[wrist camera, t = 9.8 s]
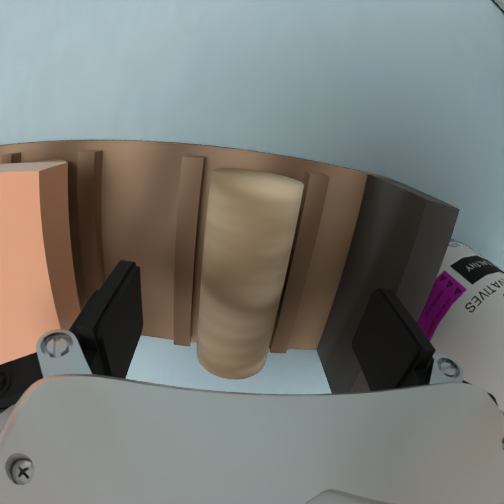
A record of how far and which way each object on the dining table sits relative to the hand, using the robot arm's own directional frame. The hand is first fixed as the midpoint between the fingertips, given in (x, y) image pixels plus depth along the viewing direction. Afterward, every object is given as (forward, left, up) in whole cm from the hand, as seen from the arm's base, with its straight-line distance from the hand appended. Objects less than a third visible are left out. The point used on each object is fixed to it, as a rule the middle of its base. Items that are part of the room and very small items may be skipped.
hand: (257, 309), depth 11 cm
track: (+5, +1, -6) cm, 8 cm away
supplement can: (-15, +2, -6) cm, 16 cm away
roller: (0, +1, -5) cm, 5 cm away
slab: (+12, +1, -1) cm, 12 cm away
